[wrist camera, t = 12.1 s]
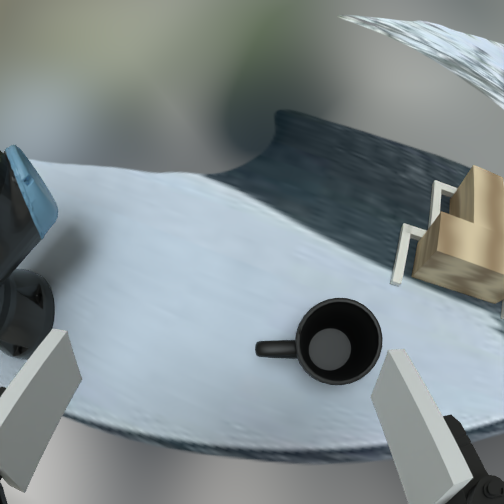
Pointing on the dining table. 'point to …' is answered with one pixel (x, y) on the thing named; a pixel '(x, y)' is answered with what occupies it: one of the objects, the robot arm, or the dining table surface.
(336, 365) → the mug
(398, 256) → the t outline
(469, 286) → the t block
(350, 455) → the dining table surface
